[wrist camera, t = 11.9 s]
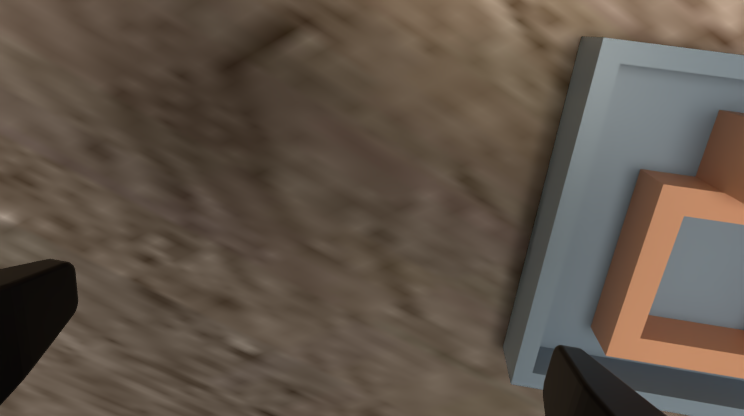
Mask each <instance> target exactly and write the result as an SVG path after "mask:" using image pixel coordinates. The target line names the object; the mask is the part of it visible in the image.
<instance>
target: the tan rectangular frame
mask: <svg viewBox="0 0 744 416" xmlns="http://www.w3.org/2000/svg"><path fill="white" fill-rule="evenodd" d="M684 216H687V217H694V218H700V219H707V220H714V221H721V222H728V223H735V224H741V225H744V113H740V112H732V111H725V110H719V112H718V115H717V118H716V120H715V123H714V126H713V129H712V132H711V134H710V137H709V140H708V143H707V146H706V148H705V151H704V154H703V157H702V160H701V162H700V165H699V168H698V171H697V174H696V176H695V177H694V176H687V175H680V174H673V173H666V172H659V171H651V170H644V169H640V172H639V175H638V179H637V182H636V185H635V188H634V191H633V194H632V198H631V201H630V204H629V207H628V210H627V213H626V217H625V220H624V223H623V226H622V229H621V232H620V236H619V239H618V242H617V245H616V248H615V251H614V255H613V258H612V261H611V264H610V267H609V270H608V274H607V277H606V280H605V283H604V286H603V289H602V292H601V296H600V299H599V302H598V305H597V308H596V311H595V315H594V318H593V321H592V324H591V329H592V331H593V332H594V334H595V336H596V338H597V340H598V342H599V344H600V346H601V348H602V349H603V351H604V353H605V355H606V356H610V357H616V358H622V359H628V360H634V361H640V362H646V363H652V364H658V365H665V366H671V367H677V368H683V369H689V370H695V371H701V372H707V373H713V374H719V375H725V376H731V377H737V378H743V379H744V330H740V329H733V328H727V327H721V326H715V325H708V324H702V323H696V322H690V321H683V320H677V319H671V318H665V317H658V316H652V315H649V312H650V309H651V307H652V304H653V301H654V298H655V295H656V293H657V290H658V287H659V284H660V282H661V279H662V276H663V273H664V270H665V268H666V265H667V262H668V259H669V257H670V254H671V251H672V248H673V245H674V243H675V240H676V237H677V234H678V231H679V229H680V226H681V223H682V220H683V218H684Z"/></svg>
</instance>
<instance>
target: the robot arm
mask: <svg viewBox="0 0 744 416" xmlns="http://www.w3.org/2000/svg"><path fill="white" fill-rule="evenodd" d="M77 305H78V294H77V283H76V273H75V268H74V266H73V265H72V264H71V263H70V262H66V261H60V260H54V259H46V260H42V261H37V262H32V263H27V264H23V265H18V266H13V267H8V268H4V269H0V405H1V404H2V403H3V402H4V401H5V400H6V399H7V398H8V396H9V395H10V394H11V393H12V392H13V391H14V390H15V389H16V388H17V386H18V385H19V384H20V383H21V382H22V381H23V380H24V378H25V377H26V376H27V375H28V373H29V372H30V371H31V370H32V368H33V367H34V366H35V365H36V363H37V362H38V361H39V359H40V358H41V357H42V355H43V354H44V353H45V351H46V350H47V349H48V348H49V346H50V345H51V344H52V342H53V341H54V340H55V338H56V337H57V336H58V334H59V333H60V332H61V330H62V329H63V328H64V327H65V325H66V324H67V323H68V321H69V320H70V319H71V317H72V316H73V315H74V313H75V311H76V309H77ZM543 401H544V409H545V416H666V415H665V414H664V413H663V412H661V411H660V410H659V409H657V408H656V407H655V406H654V405H652V404H651V403H650V402H649V401H647V400H646V399H645V398H643V397H642V396H641V395H640V394H638V393H637V392H636V391H635V390H633V389H632V388H631V387H629V386H628V385H627V384H626V383H624V382H623V381H622V380H620V379H619V378H618V377H617V376H615V375H614V374H613V373H612V372H610V371H609V370H608V369H606V368H605V367H604V366H603V365H601V364H600V363H599V362H598V361H596V360H595V359H594V358H592V357H591V356H590V355H589V354H587V353H586V352H585V351H584V350H582V349H580V348H577V347H571V346H565V345H558V346H556V347H555V349H554V350H553V353H552V356H551V360H550V363H549V367H548V370H547V373H546V377H545V380H544V385H543Z"/></svg>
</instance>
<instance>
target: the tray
mask: <svg viewBox="0 0 744 416" xmlns="http://www.w3.org/2000/svg"><path fill="white" fill-rule="evenodd" d="M719 110H725V111H732V112H740V113H744V55H737V54H729V53H721V52H714V51H706V50H698V49H690V48H682V47H674V46H667V45H659V44H651V43H643V42H635V41H627V40H619V39H612V38H604V37H581V41H580V45H579V49H578V53H577V56H576V60H575V64H574V68H573V72H572V76H571V80H570V84H569V88H568V92H567V96H566V100H565V104H564V108H563V112H562V116H561V120H560V124H559V128H558V132H557V136H556V140H555V143H554V147H553V151H552V155H551V159H550V163H549V167H548V171H547V175H546V179H545V183H544V187H543V191H542V195H541V199H540V203H539V207H538V211H537V215H536V219H535V223H534V226H533V230H532V234H531V238H530V242H529V246H528V250H527V254H526V258H525V262H524V266H523V270H522V274H521V278H520V282H519V286H518V290H517V294H516V298H515V302H514V306H513V310H512V313H511V317H510V321H509V325H508V329H507V333H506V337H505V341H504V345H503V350H504V355H505V359H506V364H507V368H508V373H509V377H510V382H511V384H513V385H519V386H525V387H531V388H536V389H542V390H543V385H544V380H545V377H546V373H547V370H548V367H549V363H550V360H551V356H552V353H553V350H554V349H555V347H556V346H558V345H565V346H571V347H577V348H580V349H582V350H584V351H585V352H586V353H587V354H589V355H590V356H591V357H592V358H594V359H595V360H596V361H598V362H599V363H600V364H601V365H603V366H604V367H605V368H606V369H608V370H609V371H610V372H612V373H613V374H614V375H615V376H617V377H618V378H619V379H620V380H622V381H623V382H624V383H626V384H627V385H628V386H629V387H631V388H632V389H633V390H635V391H636V392H637V393H638V394H640V395H641V396H642V397H643V398H645V399H646V400H647V401H649V402H650V403H651V404H652V405H654V406H655V407H656V408H657V409H659V410H662V411H668V412H673V413H679V414H685V415H690V416H744V379H743V378H737V377H731V376H725V375H719V374H713V373H707V372H701V371H695V370H689V369H683V368H677V367H671V366H665V365H658V364H652V363H646V362H640V361H634V360H628V359H622V358H616V357H610V356H606V355H605V353H604V351H603V349H602V348H601V346H600V344H599V342H598V340H597V338H596V336H595V334H594V332H593V331H592V329H591V324H592V321H593V318H594V315H595V311H596V308H597V305H598V302H599V299H600V296H601V292H602V289H603V286H604V283H605V280H606V277H607V274H608V270H609V267H610V264H611V261H612V258H613V255H614V251H615V248H616V245H617V242H618V239H619V236H620V232H621V229H622V226H623V223H624V220H625V217H626V213H627V210H628V207H629V204H630V201H631V198H632V194H633V191H634V188H635V185H636V182H637V179H638V175H639V172H640V169H644V170H651V171H659V172H666V173H673V174H680V175H687V176H694V177H695V176H696V174H697V171H698V168H699V165H700V162H701V160H702V157H703V154H704V151H705V148H706V146H707V143H708V140H709V137H710V134H711V132H712V129H713V126H714V123H715V120H716V118H717V115H718V112H719ZM649 315H652V316H658V317H665V318H671V319H677V320H683V321H690V322H696V323H702V324H708V325H715V326H721V327H727V328H733V329H740V330H744V225H741V224H735V223H728V222H721V221H714V220H707V219H700V218H694V217H687V216H684V218H683V220H682V223H681V226H680V229H679V231H678V234H677V237H676V240H675V243H674V245H673V248H672V251H671V254H670V257H669V259H668V262H667V265H666V268H665V270H664V273H663V276H662V279H661V282H660V284H659V287H658V290H657V293H656V295H655V298H654V301H653V304H652V307H651V309H650V312H649Z"/></svg>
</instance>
